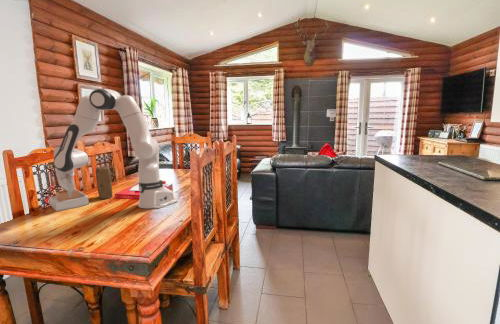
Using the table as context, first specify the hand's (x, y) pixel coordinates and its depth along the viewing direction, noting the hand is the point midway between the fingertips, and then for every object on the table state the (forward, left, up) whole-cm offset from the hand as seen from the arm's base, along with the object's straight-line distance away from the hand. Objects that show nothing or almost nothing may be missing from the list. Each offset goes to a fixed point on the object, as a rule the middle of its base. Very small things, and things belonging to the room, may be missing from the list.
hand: (68, 195), depth 159 cm
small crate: (0, 0, -2) cm, 2 cm away
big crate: (0, 0, -6) cm, 6 cm away
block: (-20, -1, -6) cm, 21 cm away
